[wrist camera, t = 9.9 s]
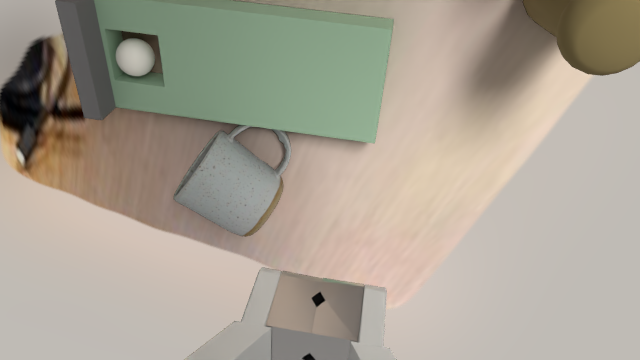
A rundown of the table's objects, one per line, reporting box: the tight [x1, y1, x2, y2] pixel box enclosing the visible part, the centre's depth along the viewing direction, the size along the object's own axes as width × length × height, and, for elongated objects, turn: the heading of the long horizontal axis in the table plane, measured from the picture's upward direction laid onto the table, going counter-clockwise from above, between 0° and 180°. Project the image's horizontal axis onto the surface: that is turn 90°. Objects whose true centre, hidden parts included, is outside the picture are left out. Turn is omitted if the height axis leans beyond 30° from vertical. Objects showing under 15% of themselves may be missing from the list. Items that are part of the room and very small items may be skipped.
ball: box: [116, 38, 155, 76], centre depth 42 cm, size 3×3×3 cm
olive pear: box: [523, 0, 640, 75], centre depth 31 cm, size 6×6×11 cm
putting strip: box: [55, 0, 394, 143], centre depth 40 cm, size 10×26×5 cm, turn 87°
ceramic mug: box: [174, 125, 291, 236], centre depth 45 cm, size 11×8×8 cm
